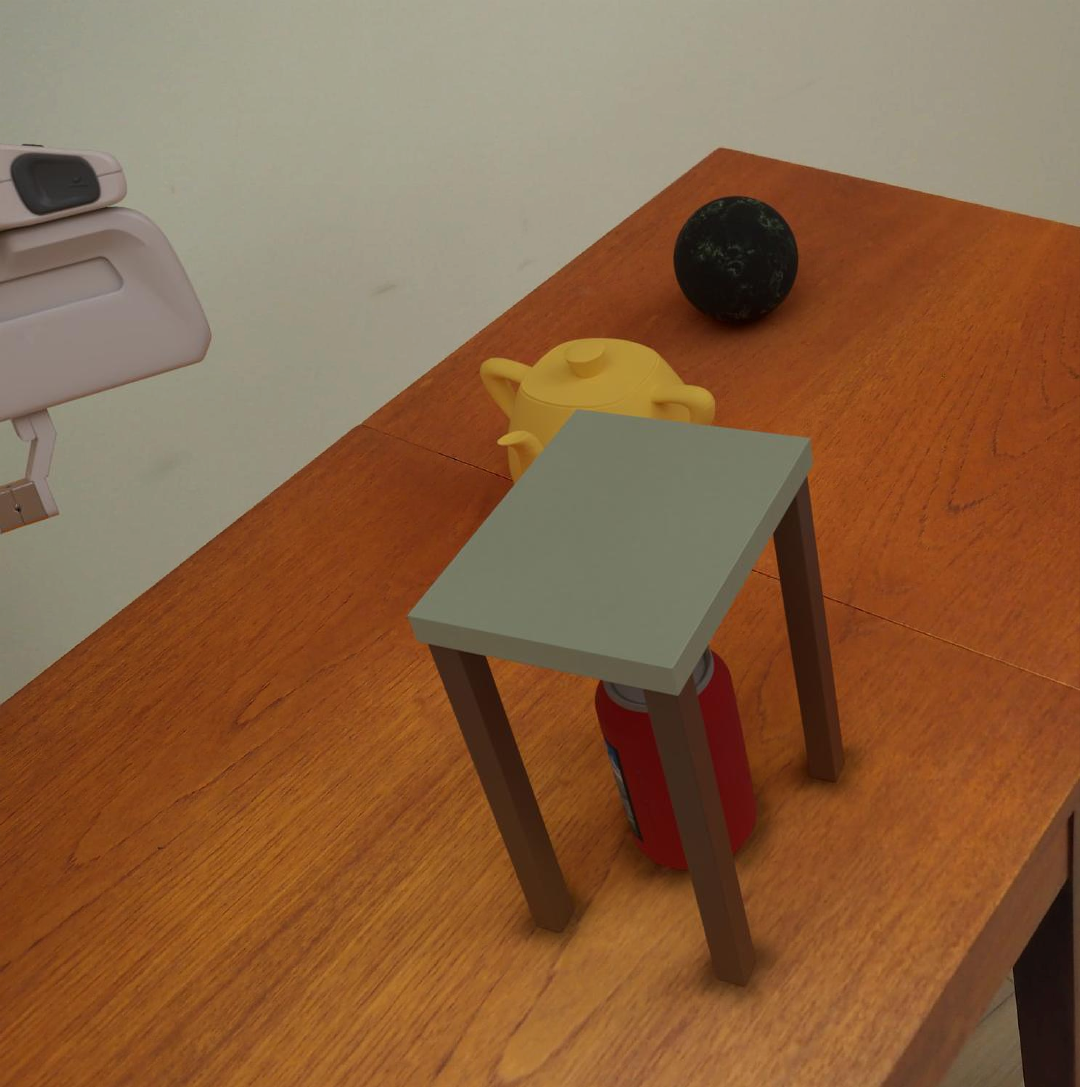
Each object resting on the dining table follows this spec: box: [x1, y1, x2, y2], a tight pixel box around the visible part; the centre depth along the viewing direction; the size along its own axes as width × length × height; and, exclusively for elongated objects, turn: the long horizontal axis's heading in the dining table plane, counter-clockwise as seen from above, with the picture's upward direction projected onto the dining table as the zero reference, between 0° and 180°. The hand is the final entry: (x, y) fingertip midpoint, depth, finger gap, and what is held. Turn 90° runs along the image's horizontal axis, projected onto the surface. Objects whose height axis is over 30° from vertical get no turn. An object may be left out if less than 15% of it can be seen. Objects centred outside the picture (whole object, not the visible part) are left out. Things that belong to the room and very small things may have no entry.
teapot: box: [479, 337, 716, 486], centre depth 93 cm, size 14×14×12 cm
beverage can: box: [594, 645, 758, 870], centre depth 69 cm, size 7×7×12 cm
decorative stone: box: [672, 195, 799, 325], centre depth 110 cm, size 10×10×10 cm
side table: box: [407, 409, 846, 988], centre depth 65 cm, size 15×12×22 cm
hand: (24, 524), depth 60 cm, fingers closed
